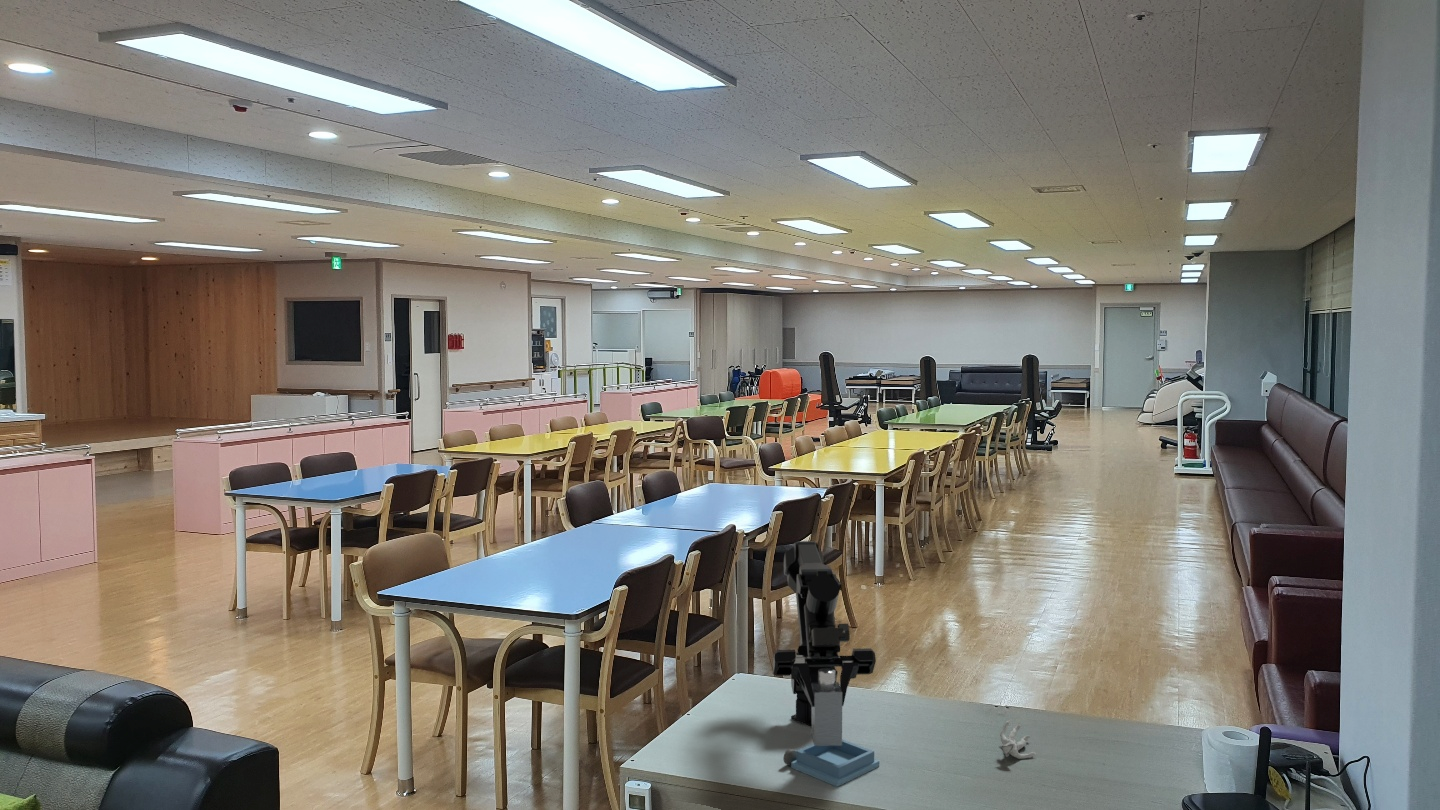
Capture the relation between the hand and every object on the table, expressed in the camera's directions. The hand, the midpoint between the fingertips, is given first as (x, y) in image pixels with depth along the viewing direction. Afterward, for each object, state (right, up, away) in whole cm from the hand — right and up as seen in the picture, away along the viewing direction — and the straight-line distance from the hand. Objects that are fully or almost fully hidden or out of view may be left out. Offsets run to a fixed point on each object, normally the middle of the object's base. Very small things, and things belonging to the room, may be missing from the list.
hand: (827, 705), depth 189 cm
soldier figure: (+36, -12, +9) cm, 39 cm away
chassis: (+2, -12, +3) cm, 13 cm away
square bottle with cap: (0, -7, +2) cm, 7 cm away
